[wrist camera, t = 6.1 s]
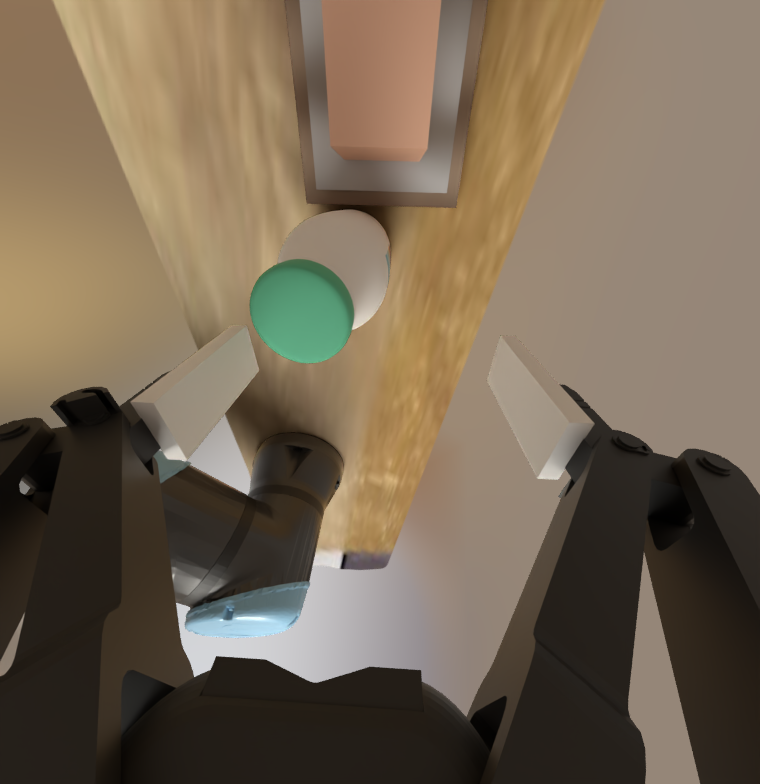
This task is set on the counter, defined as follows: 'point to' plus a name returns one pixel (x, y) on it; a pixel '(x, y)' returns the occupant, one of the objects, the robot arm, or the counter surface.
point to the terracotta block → (380, 76)
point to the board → (447, 121)
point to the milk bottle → (322, 285)
